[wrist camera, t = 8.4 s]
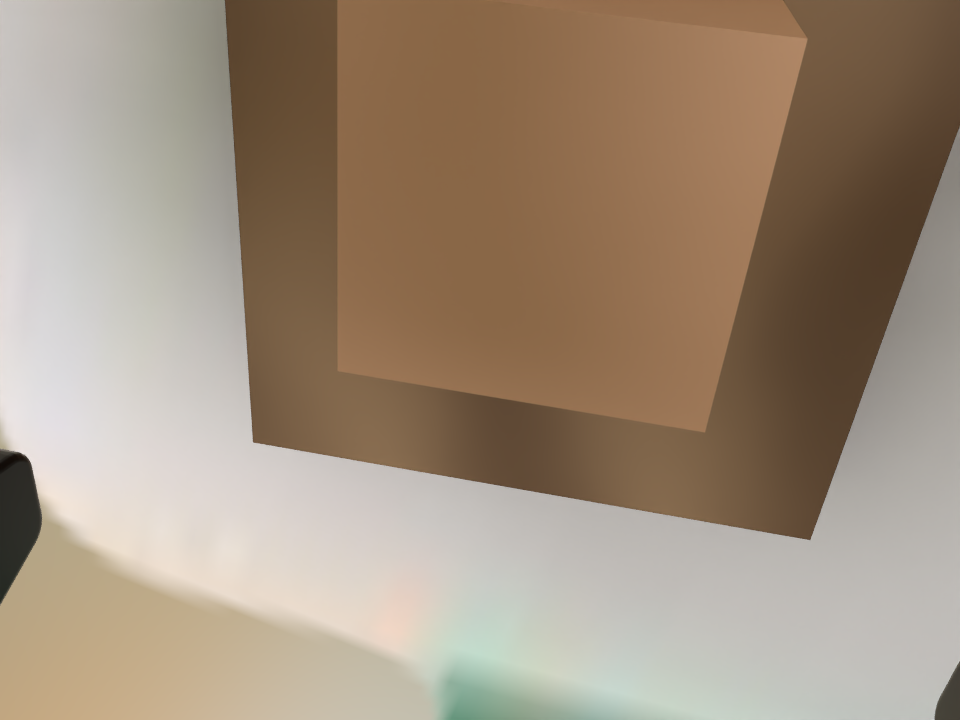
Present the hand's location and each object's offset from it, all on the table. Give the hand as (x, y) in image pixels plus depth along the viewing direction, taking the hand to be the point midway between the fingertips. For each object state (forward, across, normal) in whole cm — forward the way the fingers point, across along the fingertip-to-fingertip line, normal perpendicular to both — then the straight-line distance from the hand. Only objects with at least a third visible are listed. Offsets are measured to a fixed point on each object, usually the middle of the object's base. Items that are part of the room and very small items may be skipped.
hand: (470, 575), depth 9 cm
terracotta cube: (+9, 0, -2) cm, 9 cm away
